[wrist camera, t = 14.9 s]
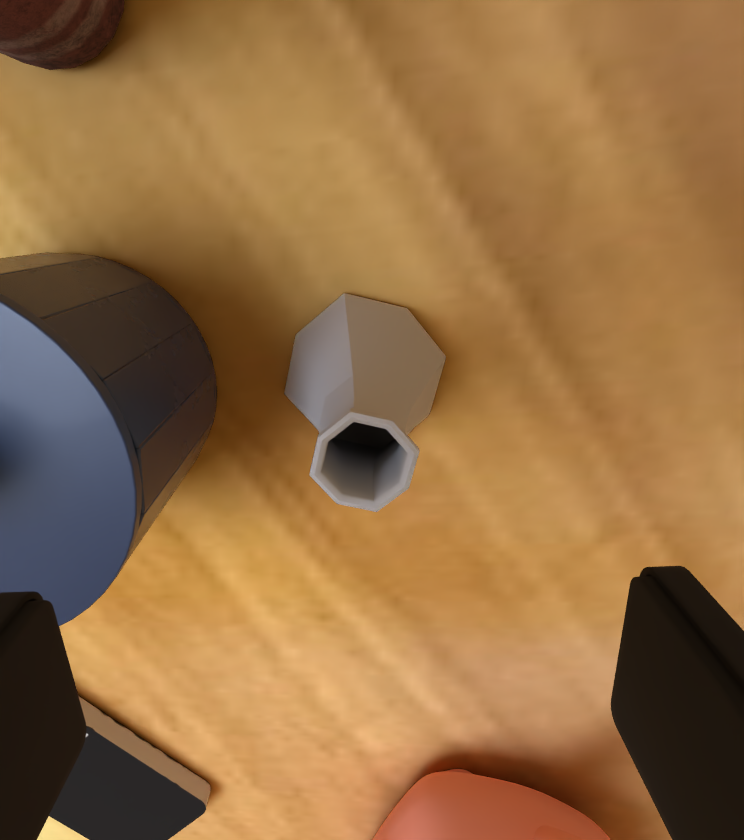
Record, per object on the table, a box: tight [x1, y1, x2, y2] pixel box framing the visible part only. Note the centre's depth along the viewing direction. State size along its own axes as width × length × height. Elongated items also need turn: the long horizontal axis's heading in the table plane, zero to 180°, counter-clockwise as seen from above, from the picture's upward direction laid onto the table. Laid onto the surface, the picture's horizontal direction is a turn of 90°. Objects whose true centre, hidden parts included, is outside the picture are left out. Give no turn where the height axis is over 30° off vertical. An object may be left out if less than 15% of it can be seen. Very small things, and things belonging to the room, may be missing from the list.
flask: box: [284, 293, 446, 512], centre depth 22 cm, size 7×7×10 cm
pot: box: [0, 253, 217, 565], centre depth 22 cm, size 12×12×10 cm
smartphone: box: [49, 697, 211, 840], centre depth 34 cm, size 8×1×15 cm
